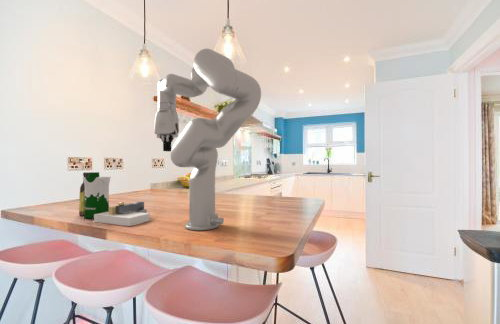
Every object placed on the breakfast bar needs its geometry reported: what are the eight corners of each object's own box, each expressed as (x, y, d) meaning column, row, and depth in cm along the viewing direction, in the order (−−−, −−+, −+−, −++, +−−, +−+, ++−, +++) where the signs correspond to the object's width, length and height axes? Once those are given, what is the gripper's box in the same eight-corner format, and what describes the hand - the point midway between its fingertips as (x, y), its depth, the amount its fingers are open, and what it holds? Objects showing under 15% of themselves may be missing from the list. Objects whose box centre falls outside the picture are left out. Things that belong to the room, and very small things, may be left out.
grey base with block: (149, 220, 101) (149, 206, 101) (129, 226, 92) (129, 210, 92) (115, 216, 109) (115, 203, 109) (94, 221, 100) (94, 207, 100)
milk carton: (80, 218, 105) (80, 172, 106) (95, 214, 114) (95, 172, 115) (99, 219, 104) (99, 172, 105) (113, 214, 113) (113, 172, 114)
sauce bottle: (83, 216, 111) (84, 172, 111) (75, 215, 114) (75, 172, 114) (98, 213, 117) (98, 172, 117) (90, 212, 119) (90, 172, 120)
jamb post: (146, 216, 109) (146, 209, 109) (139, 218, 105) (139, 210, 106) (138, 215, 111) (138, 208, 111) (130, 217, 107) (130, 210, 107)
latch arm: (139, 207, 111) (139, 199, 111) (146, 208, 109) (146, 199, 109) (114, 212, 100) (114, 202, 100) (121, 213, 98) (121, 203, 98)
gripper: (147, 108, 105) (147, 151, 105) (175, 105, 99) (175, 150, 99) (160, 112, 112) (160, 152, 112) (186, 109, 106) (186, 151, 106)
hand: (167, 151), depth 105 cm, fingers closed
